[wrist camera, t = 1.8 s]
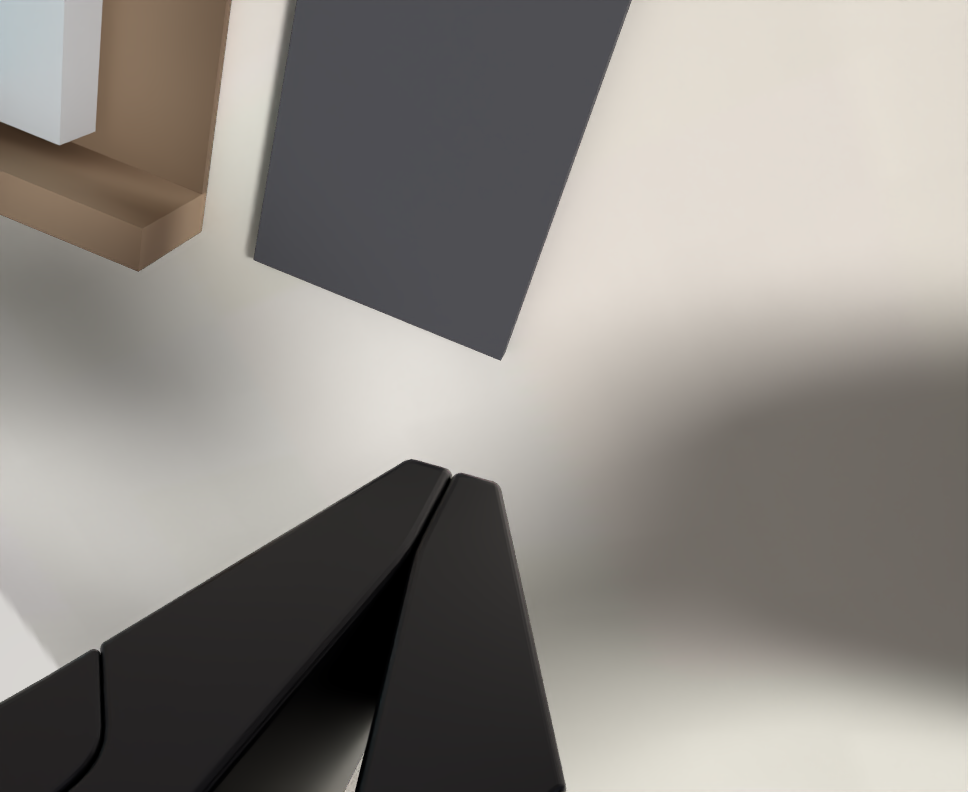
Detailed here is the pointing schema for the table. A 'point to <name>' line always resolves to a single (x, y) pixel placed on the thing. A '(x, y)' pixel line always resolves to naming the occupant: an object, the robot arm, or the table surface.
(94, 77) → the blue pillar on plinth
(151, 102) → the track
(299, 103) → the dark gray rectangular plate
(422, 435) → the table surface
